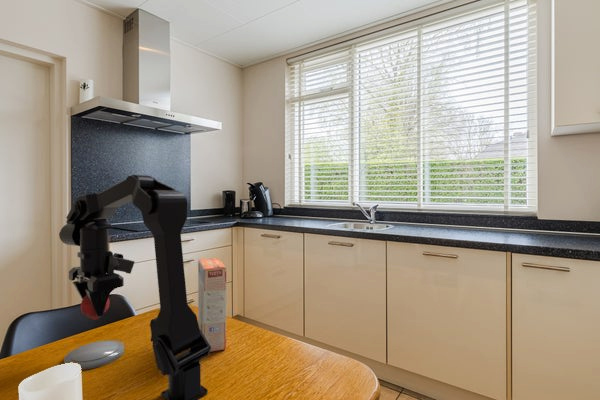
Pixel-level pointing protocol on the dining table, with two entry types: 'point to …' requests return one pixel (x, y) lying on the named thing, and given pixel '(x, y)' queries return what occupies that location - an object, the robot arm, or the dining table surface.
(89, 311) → the onion
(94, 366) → the plate
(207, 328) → the cracker box
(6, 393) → the dining table surface
